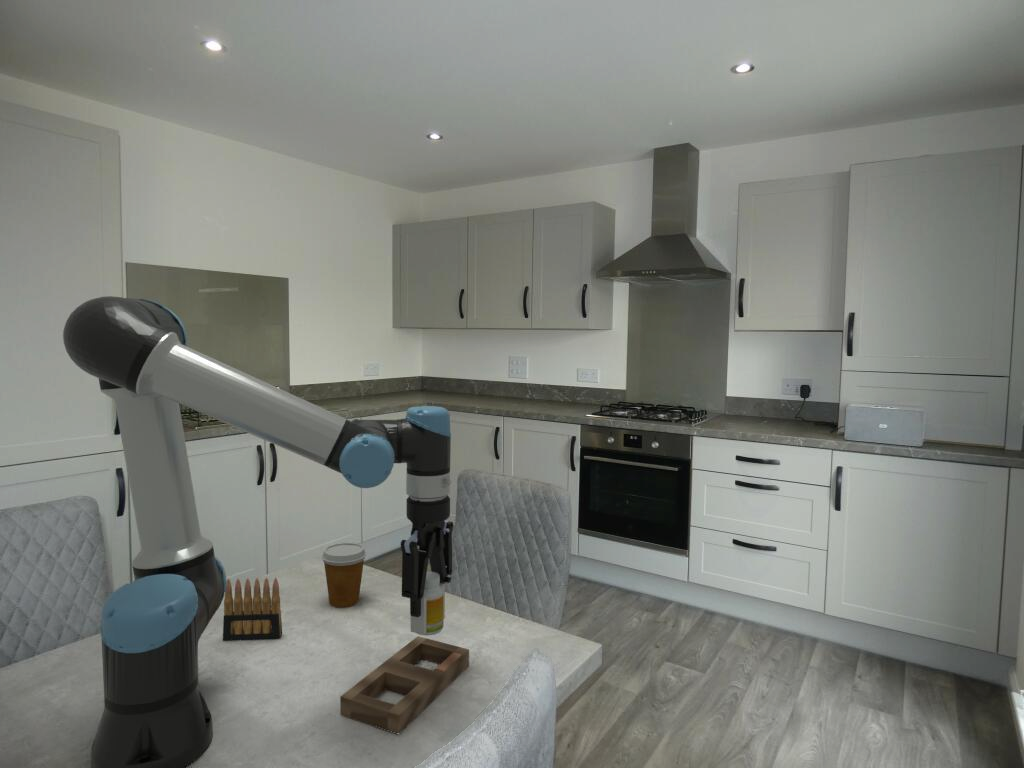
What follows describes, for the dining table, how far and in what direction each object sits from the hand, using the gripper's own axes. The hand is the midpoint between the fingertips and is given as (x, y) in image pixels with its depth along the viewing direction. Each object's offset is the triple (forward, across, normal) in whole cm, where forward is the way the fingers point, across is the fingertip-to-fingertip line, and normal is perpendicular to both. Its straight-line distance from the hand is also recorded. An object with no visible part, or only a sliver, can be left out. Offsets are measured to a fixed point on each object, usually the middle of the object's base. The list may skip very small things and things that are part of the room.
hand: (428, 624), depth 111 cm
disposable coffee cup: (+9, +16, +32) cm, 37 cm away
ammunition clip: (+9, -5, +37) cm, 39 cm away
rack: (+9, -6, 0) cm, 10 cm away
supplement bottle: (+1, 0, 0) cm, 1 cm away
